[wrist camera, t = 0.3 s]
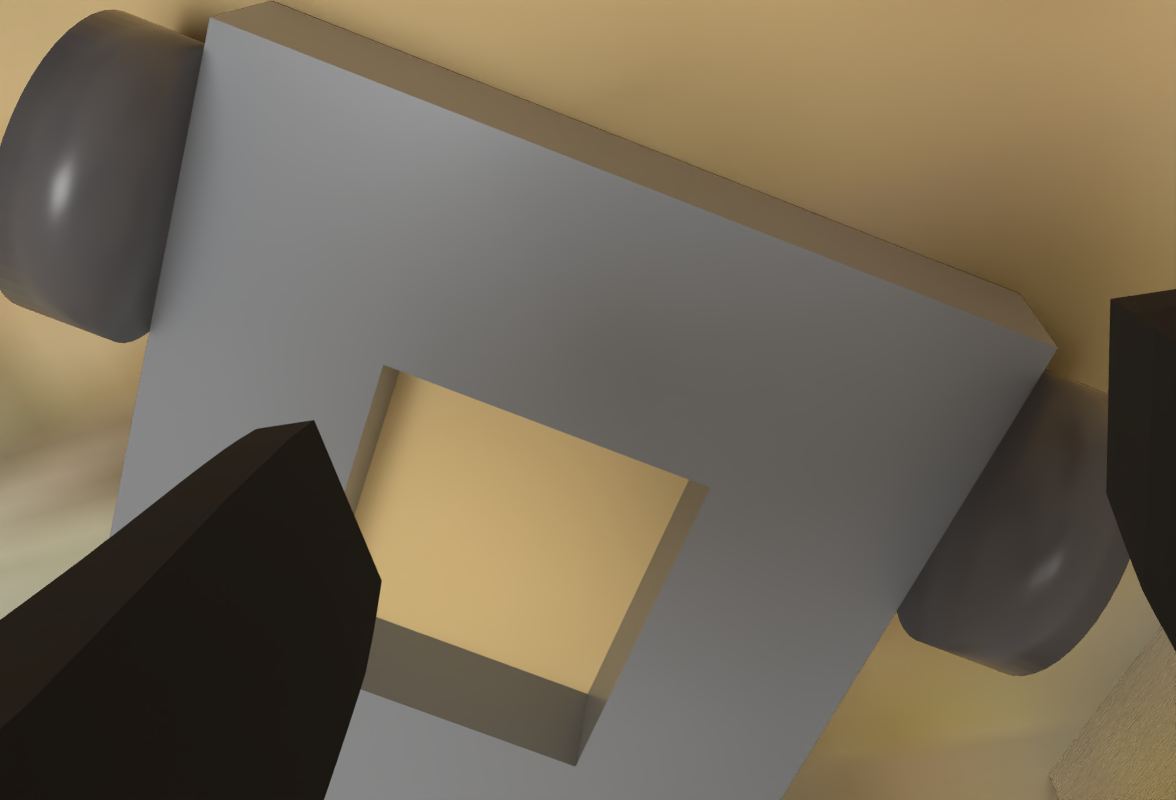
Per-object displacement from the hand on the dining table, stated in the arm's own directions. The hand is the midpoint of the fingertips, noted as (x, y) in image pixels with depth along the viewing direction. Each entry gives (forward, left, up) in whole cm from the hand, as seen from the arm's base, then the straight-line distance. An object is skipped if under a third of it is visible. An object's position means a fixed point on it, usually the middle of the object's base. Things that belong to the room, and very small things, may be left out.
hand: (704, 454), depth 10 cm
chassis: (-10, +1, -10) cm, 14 cm away
